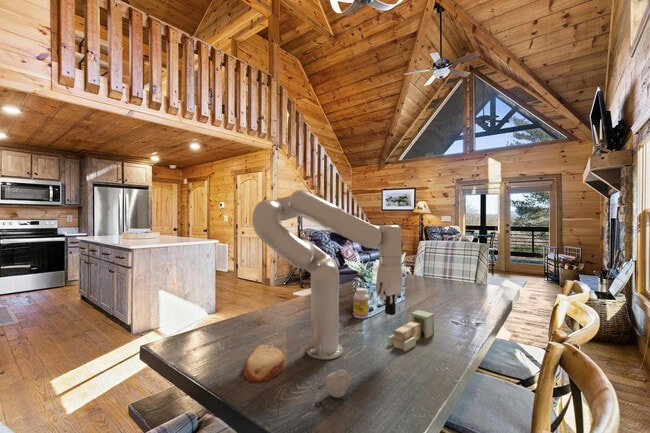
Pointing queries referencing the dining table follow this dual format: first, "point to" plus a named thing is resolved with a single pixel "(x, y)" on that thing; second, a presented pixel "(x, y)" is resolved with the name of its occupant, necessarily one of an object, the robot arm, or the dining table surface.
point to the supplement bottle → (361, 303)
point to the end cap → (424, 322)
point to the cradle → (406, 344)
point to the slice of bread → (264, 364)
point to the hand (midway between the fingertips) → (390, 313)
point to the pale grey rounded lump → (338, 383)
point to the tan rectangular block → (407, 333)
